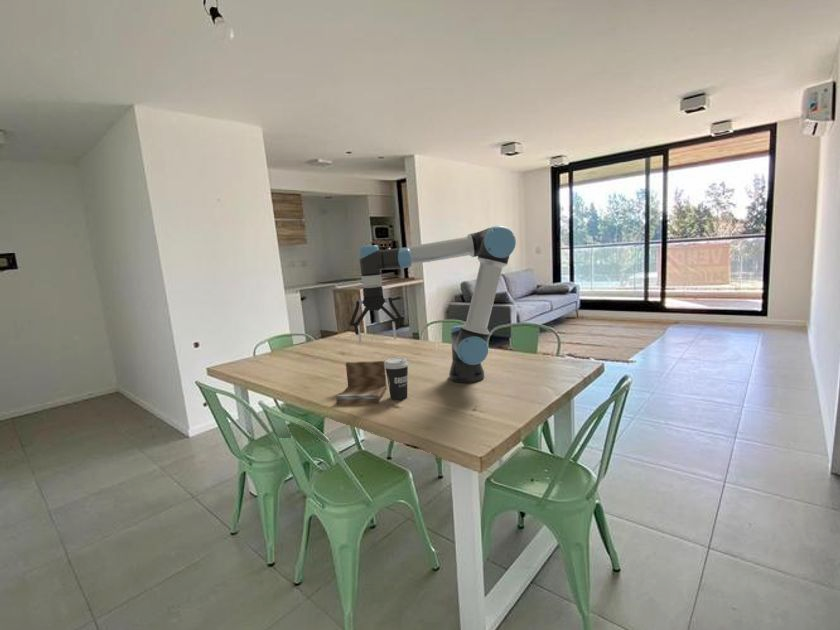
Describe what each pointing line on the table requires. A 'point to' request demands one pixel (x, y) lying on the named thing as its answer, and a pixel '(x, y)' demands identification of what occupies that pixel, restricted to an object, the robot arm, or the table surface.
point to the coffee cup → (397, 377)
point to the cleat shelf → (364, 383)
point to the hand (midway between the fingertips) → (377, 340)
